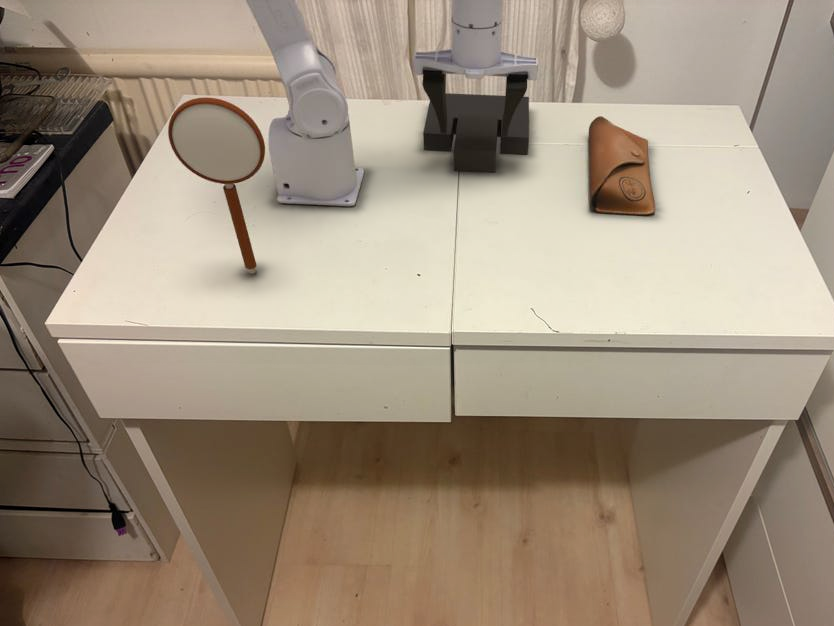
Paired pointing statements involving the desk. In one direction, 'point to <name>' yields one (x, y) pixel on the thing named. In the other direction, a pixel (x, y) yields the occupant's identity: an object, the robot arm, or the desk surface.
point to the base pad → (485, 108)
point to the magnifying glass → (220, 153)
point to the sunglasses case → (619, 170)
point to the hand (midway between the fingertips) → (474, 130)
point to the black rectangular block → (475, 144)
